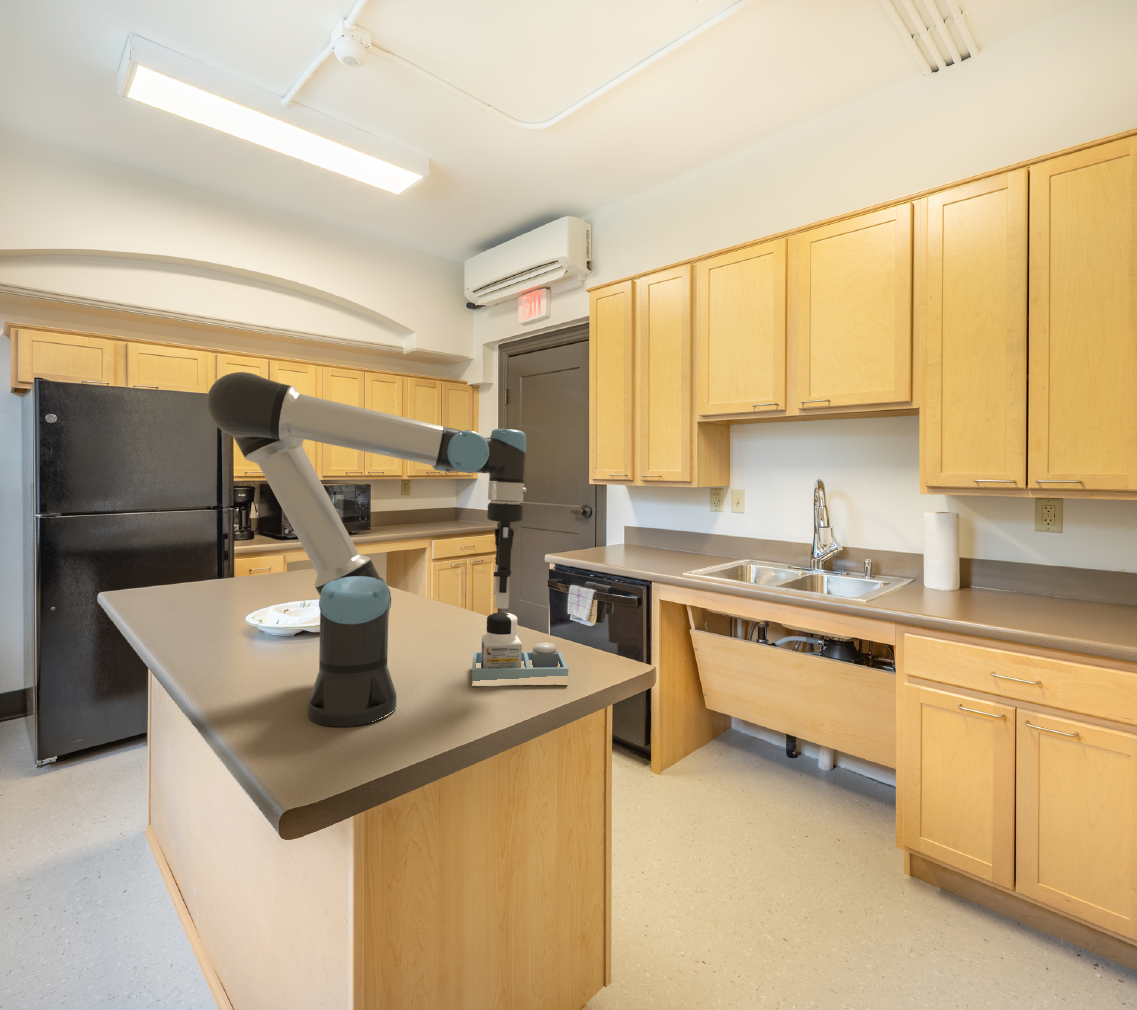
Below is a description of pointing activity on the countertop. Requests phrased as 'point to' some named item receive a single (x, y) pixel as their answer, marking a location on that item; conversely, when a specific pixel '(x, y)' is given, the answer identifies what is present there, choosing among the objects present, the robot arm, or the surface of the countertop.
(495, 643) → the container
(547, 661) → the tray
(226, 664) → the countertop surface
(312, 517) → the robot arm
